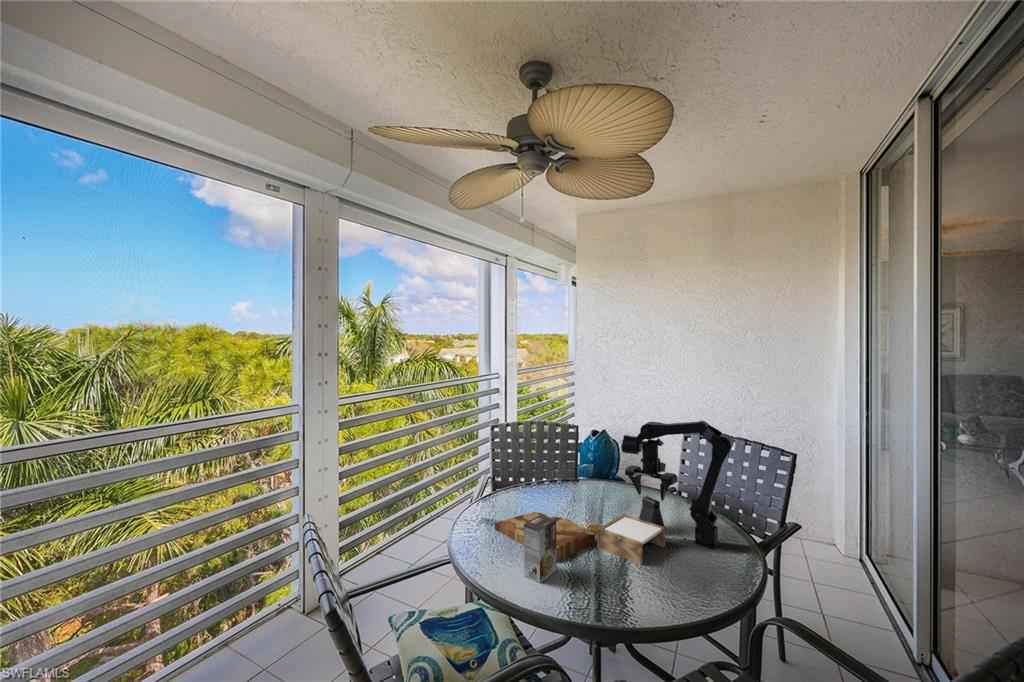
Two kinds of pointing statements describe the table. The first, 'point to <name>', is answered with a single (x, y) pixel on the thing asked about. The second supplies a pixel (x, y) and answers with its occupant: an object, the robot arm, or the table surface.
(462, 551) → the table surface
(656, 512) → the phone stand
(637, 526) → the trapdoor
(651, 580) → the table surface
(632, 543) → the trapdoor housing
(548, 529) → the coffee box
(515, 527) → the decorative slab
